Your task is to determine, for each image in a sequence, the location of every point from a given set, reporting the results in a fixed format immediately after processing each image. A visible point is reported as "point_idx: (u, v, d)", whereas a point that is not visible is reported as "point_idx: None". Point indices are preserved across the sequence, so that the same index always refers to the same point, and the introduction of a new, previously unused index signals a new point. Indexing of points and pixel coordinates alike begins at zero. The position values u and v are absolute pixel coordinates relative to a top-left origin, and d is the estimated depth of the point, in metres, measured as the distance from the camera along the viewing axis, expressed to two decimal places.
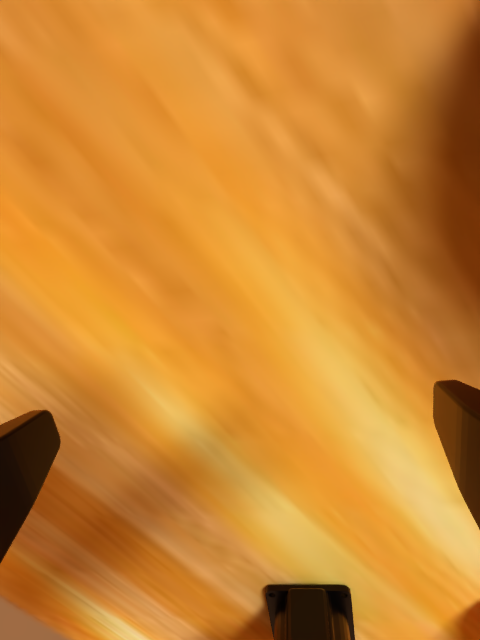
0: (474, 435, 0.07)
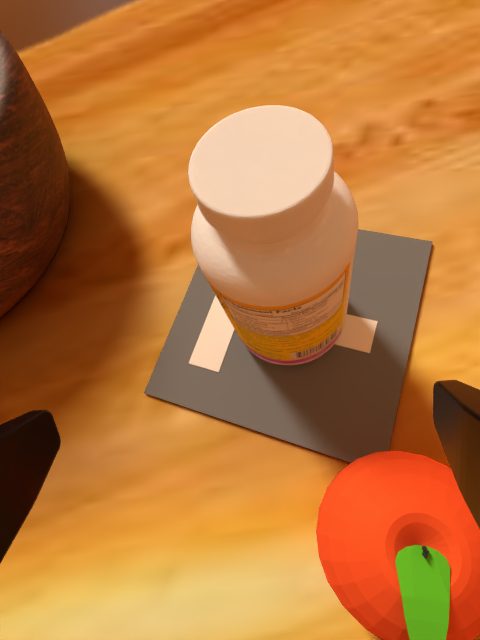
0: (474, 435, 0.07)
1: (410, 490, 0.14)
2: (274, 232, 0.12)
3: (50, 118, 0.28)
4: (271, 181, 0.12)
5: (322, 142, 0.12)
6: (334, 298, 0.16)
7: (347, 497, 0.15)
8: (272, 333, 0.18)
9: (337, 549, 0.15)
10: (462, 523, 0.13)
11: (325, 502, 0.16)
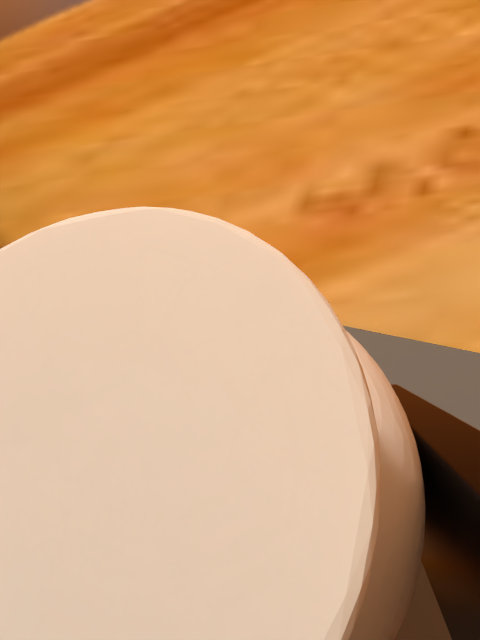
0: None
1: None
2: None
3: None
4: (101, 596, 0.03)
5: (329, 391, 0.03)
6: None
7: None
8: None
9: None
10: None
11: None
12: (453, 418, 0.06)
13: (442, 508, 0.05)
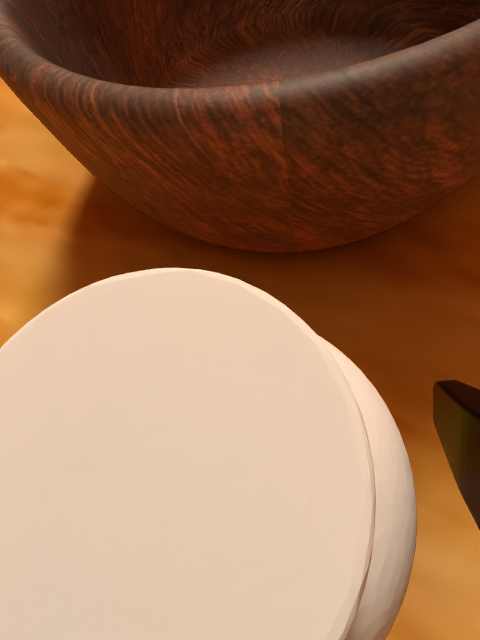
0: (474, 435, 0.07)
1: None
2: None
3: None
4: (160, 594, 0.03)
5: (334, 429, 0.04)
6: None
7: None
8: None
9: None
10: None
11: None
12: None
13: None
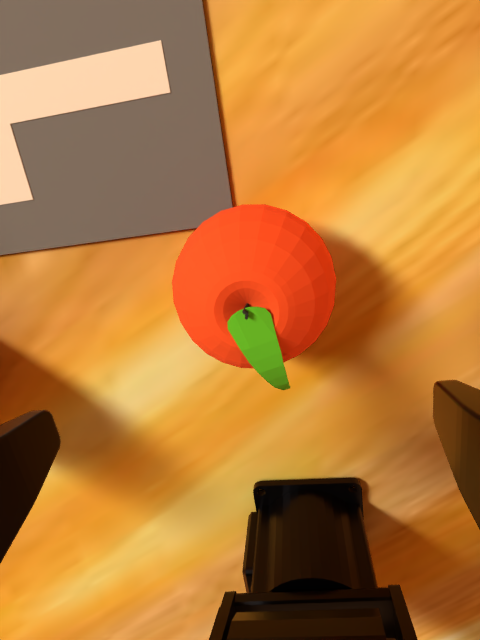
0: (474, 435, 0.07)
1: (222, 263, 0.14)
2: None
3: None
4: None
5: None
6: None
7: (180, 289, 0.15)
8: None
9: (190, 332, 0.16)
10: (272, 273, 0.14)
11: (173, 294, 0.17)
12: None
13: None
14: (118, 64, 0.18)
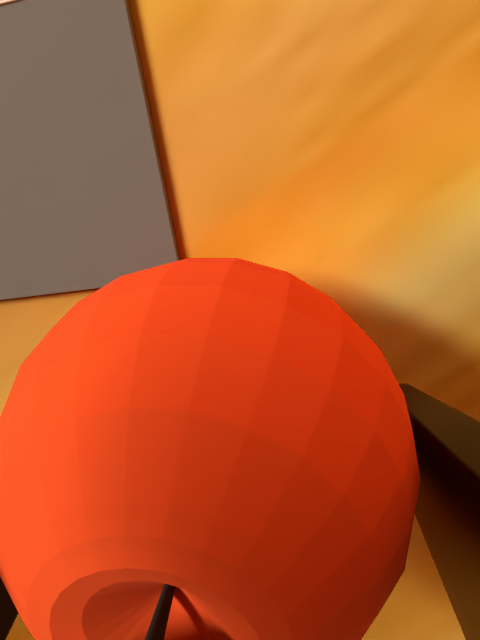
0: None
1: (70, 493, 0.04)
2: None
3: None
4: None
5: None
6: None
7: None
8: None
9: None
10: (238, 542, 0.04)
11: None
12: (466, 417, 0.06)
13: (457, 508, 0.05)
14: None
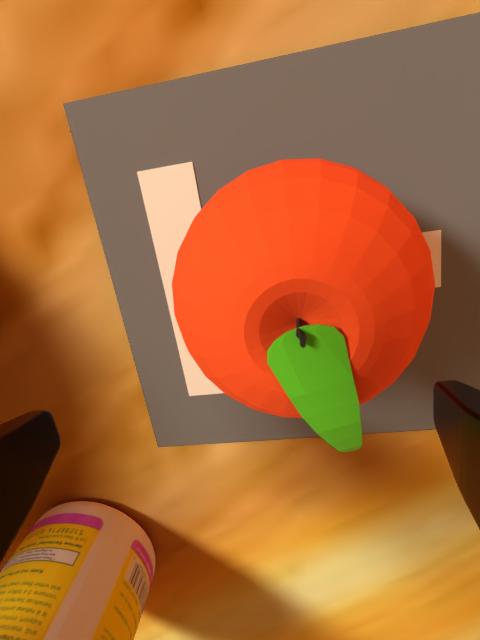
0: (474, 435, 0.07)
1: (258, 250, 0.08)
2: None
3: None
4: None
5: None
6: None
7: (184, 296, 0.09)
8: None
9: (202, 365, 0.10)
10: (349, 264, 0.08)
11: None
12: None
13: None
14: None
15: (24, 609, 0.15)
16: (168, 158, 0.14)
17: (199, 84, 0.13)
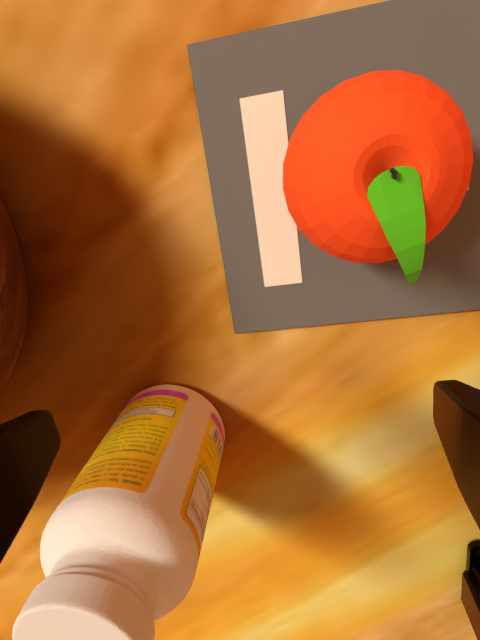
0: (474, 435, 0.07)
1: (366, 118, 0.12)
2: None
3: None
4: None
5: (84, 617, 0.13)
6: (199, 502, 0.18)
7: (304, 162, 0.14)
8: None
9: (311, 215, 0.14)
10: (425, 125, 0.12)
11: (286, 178, 0.15)
12: None
13: None
14: None
15: (144, 437, 0.19)
16: (264, 87, 0.18)
17: (293, 29, 0.17)
